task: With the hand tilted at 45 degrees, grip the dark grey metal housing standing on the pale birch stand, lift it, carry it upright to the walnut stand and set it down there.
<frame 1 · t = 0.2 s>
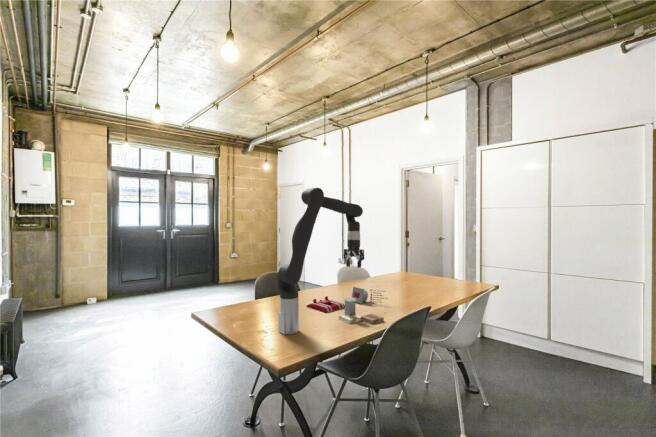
hand: (353, 267, 187), 28 cm above the table, tool pointing down, fingers open, 8 cm apart
fire alarm: (325, 308, 206), on the table
stand b: (372, 320, 178), on the table
housing: (350, 316, 179), point 2 cm above the table, touching stand a
voltmeter: (369, 303, 214), on the table
stand a: (350, 320, 179), on the table
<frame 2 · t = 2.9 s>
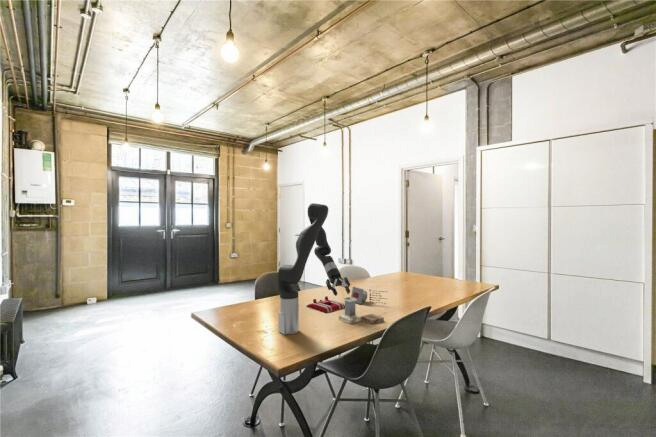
hand: (342, 294, 185), 13 cm above the table, tool tilted 45°, fingers open, 8 cm apart
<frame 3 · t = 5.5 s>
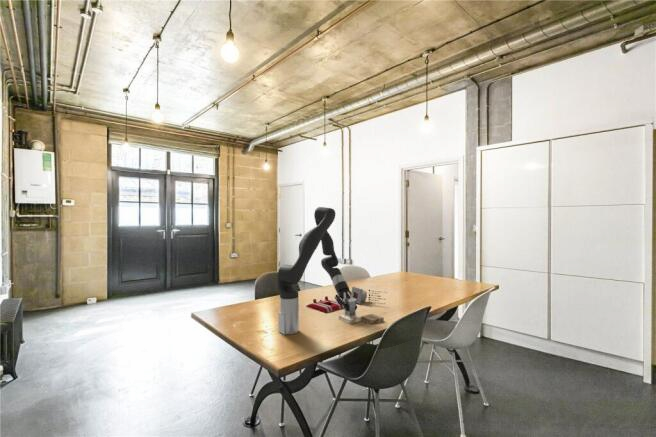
hand: (352, 309, 177), 6 cm above the table, tool tilted 45°, fingers closed on housing, 4 cm apart
housing: (350, 316, 179), point 2 cm above the table, touching gripper, stand a
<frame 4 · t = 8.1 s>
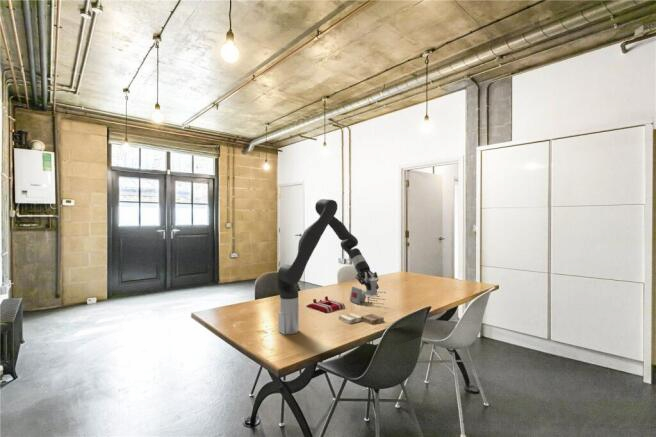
hand: (373, 289, 176), 18 cm above the table, tool tilted 45°, fingers closed on housing, 4 cm apart
housing: (371, 296, 178), point 14 cm above the table, touching gripper
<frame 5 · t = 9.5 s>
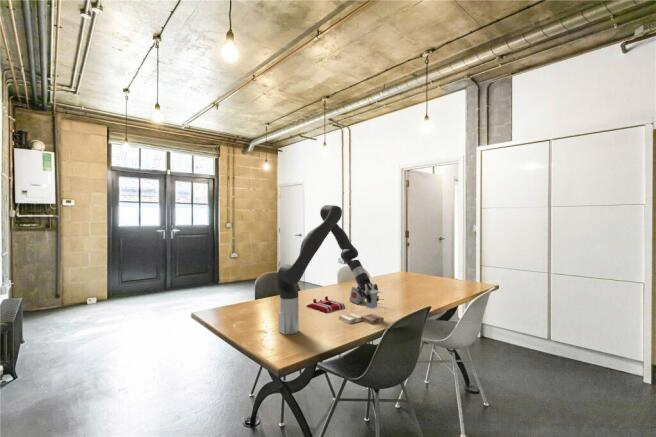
hand: (374, 301, 176), 11 cm above the table, tool tilted 45°, fingers closed on housing, 4 cm apart
housing: (371, 308, 178), point 7 cm above the table, touching gripper
when the fingers open (7 cm above the table, at t = 10.8 s): housing drops 1 cm, resting on stand b.
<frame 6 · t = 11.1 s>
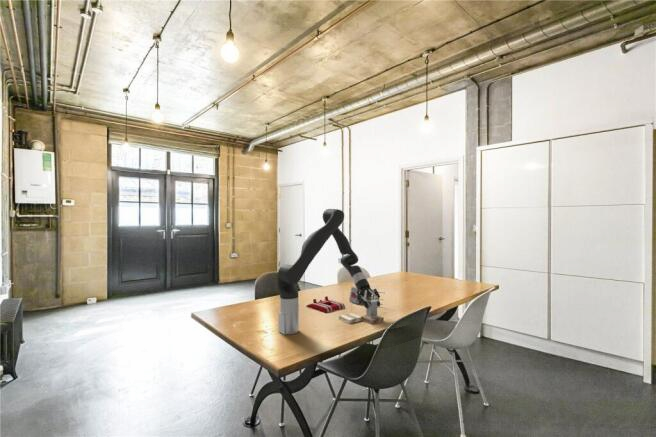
hand: (373, 306, 176), 8 cm above the table, tool tilted 45°, fingers open, 7 cm apart
housing: (371, 317, 178), point 2 cm above the table, touching stand b
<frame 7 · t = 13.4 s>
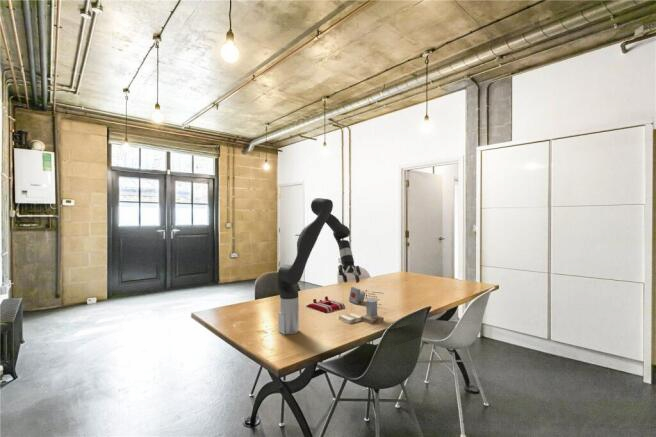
hand: (352, 282, 188), 19 cm above the table, tool tilted 30°, fingers open, 8 cm apart
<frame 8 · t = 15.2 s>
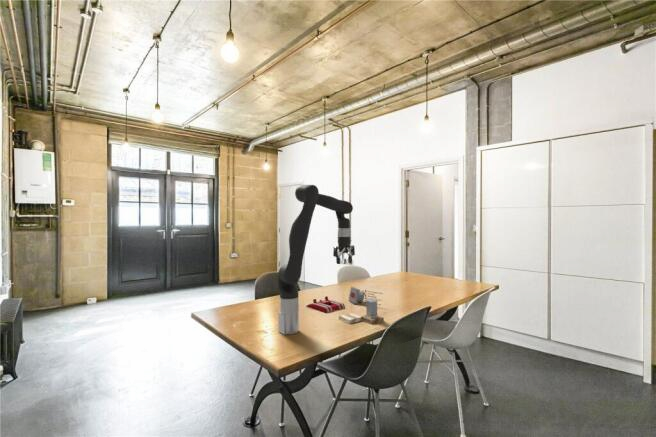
hand: (344, 263, 190), 30 cm above the table, tool pointing down, fingers open, 8 cm apart
at the end: housing inside the target area on the stand b (0.1 cm from its centre), point 2.0 cm above the stand b's base; housing tilted 0°; the gripper is holding nothing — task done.
